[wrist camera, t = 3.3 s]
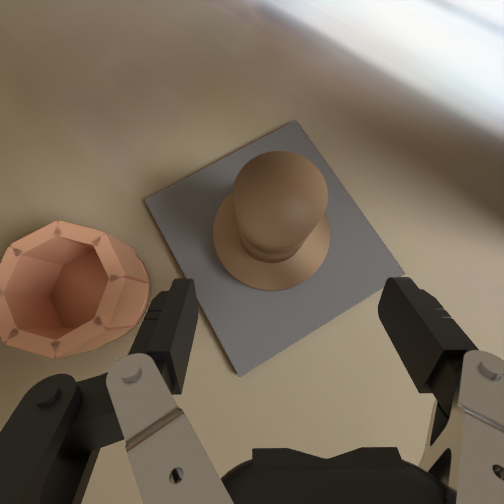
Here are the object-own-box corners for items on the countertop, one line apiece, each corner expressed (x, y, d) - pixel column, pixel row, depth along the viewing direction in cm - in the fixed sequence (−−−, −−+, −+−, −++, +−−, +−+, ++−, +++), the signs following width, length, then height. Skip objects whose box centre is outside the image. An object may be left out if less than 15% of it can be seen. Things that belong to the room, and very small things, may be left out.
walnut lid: (288, 166, 24) (305, 93, 16) (348, 254, 22) (401, 222, 14) (195, 216, 23) (165, 165, 15) (250, 313, 21) (249, 313, 13)
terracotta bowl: (125, 226, 23) (90, 202, 18) (167, 310, 22) (142, 309, 17) (35, 273, 22) (-27, 263, 17) (72, 364, 21) (17, 381, 16)
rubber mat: (295, 124, 25) (296, 120, 24) (401, 274, 22) (405, 273, 21) (146, 202, 23) (144, 199, 23) (239, 375, 20) (239, 377, 20)
